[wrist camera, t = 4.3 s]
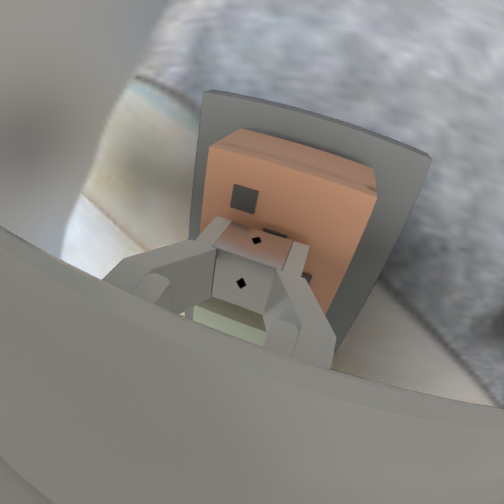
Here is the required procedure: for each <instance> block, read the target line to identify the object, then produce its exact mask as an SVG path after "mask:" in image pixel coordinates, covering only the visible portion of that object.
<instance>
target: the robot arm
mask: <svg viewBox="0 0 504 504" xmlns="http://www.w3.org/2000/svg"><path fill="white" fill-rule="evenodd" d="M309 248H310V246H309V245H306V244H303V243H299V242H296V241H294V242H293V241H292V240H289V239H286V238H282V237H279V236H276V235H273V234H269V233H266V232H263V231H261V230H258V229H256V228H253V227H250V226H247V225H244V224H241V223H238V222H235V221H232V220H230V219H226V218H223V217H220V216H218V217H215V218H214V220H213V221H212V222H211V223H210V224H209V225H208V226H207V228H206V229H205V230H204V231H203V232H202V233H201V235H200V236H199V237H198V238H197V239H196V240H195V241H194V240H187V241H184V242H180V243H176V244H173V245H169V246H166V247H162V248H159V249H155V250H151V251H148V252H144V253H141V254H137V255H134V256H131V257H127V258H124V259H123V260H121V261H120V262H119V263H118V264H117V265H116V266H115V267H114V268H113V269H112V270H111V271H110V272H109V273H108V274H107V275H106V276H105V277H104V278H103V279H102V280H101V279H99V278H96V277H94V276H92V275H90V274H88V273H86V272H84V271H82V270H80V269H78V268H76V267H74V266H72V265H70V264H68V263H67V262H65V261H63V260H61V259H59V258H57V257H55V256H53V255H51V254H49V253H47V252H46V251H44V250H42V249H40V248H38V247H37V246H35V245H33V244H31V243H29V242H28V241H26V240H24V239H22V238H20V237H19V236H17V235H15V234H13V233H12V232H10V231H8V230H7V229H5V228H3V227H2V226H0V504H504V408H497V407H491V406H485V405H479V404H474V403H468V402H463V401H458V400H452V399H448V398H443V397H438V396H433V395H429V394H424V393H420V392H416V391H411V390H407V389H403V388H399V387H395V386H391V385H387V384H383V383H379V382H375V381H371V380H368V379H364V378H360V377H357V376H353V375H350V374H346V373H343V372H339V371H336V370H333V369H331V366H332V360H333V355H334V349H335V343H336V335H335V333H334V332H333V330H332V328H331V326H330V324H329V322H328V320H327V318H326V316H325V314H324V313H323V311H322V309H321V307H320V305H319V303H318V301H317V299H316V297H315V296H314V294H313V292H312V290H311V288H310V286H309V284H308V283H307V281H306V279H305V278H302V277H301V275H302V272H303V269H304V265H305V262H306V259H307V255H308V252H309ZM211 296H212V297H215V298H218V299H221V300H224V301H227V302H230V303H233V304H236V305H238V306H241V307H243V308H246V309H248V310H251V311H254V312H256V313H259V314H262V315H263V320H264V324H265V327H266V331H267V337H266V339H265V342H264V344H263V347H262V346H259V345H257V344H254V343H251V342H248V341H246V340H243V339H240V338H237V337H235V336H232V335H229V334H227V333H224V332H221V331H219V330H216V329H214V328H211V327H209V326H206V325H203V324H201V323H198V322H196V321H193V320H191V319H188V318H186V317H184V316H181V315H179V314H180V313H182V312H184V311H186V310H188V309H190V308H192V307H193V306H195V305H197V304H199V303H201V302H203V301H205V300H207V299H209V298H210V297H211Z"/></svg>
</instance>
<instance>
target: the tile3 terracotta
mask: <svg viewBox="0 0 504 504" xmlns="http://www.w3.org/2000/svg"><path fill="white" fill-rule="evenodd" d="M376 200H377V190H376V181H375V172H374V168H371V167H368V166H366V165H363V164H360V163H357V162H354V161H352V160H349V159H346V158H343V157H340V156H337V155H334V154H331V153H328V152H324V151H321V150H318V149H315V148H312V147H308V146H305V145H302V144H298V143H295V142H291V141H288V140H284V139H281V138H277V137H273V136H270V135H266V134H262V133H258V132H254V131H250V130H246V129H242V128H240V129H238V130H237V131H235V132H233V133H231V134H230V135H228V136H226V137H224V138H223V139H221V140H219V141H217V142H216V143H214V144H212V145H211V146H209V153H208V160H207V169H206V177H205V186H204V195H203V204H202V213H201V223H200V234H199V236H200V235H201V233H202V232H203V231H204V230H205V229H206V228H207V226H208V225H209V224H210V223H211V222H212V221H213V220H214V218H215V217H218V216H220V217H223V218H226V219H230V220H232V221H235V222H238V223H241V224H244V225H247V226H250V227H253V228H256V229H258V230H261V231H263V232H266V233H269V234H273V235H276V236H279V237H282V238H286V239H289V240H292V241H293V242H294V241H296V242H299V243H303V244H306V245H309V246H310V248H309V252H308V255H307V259H306V262H305V265H304V269H303V272H302V275H301V277H302V278H305V279H306V281H307V283H308V284H309V286H310V288H311V290H312V292H313V294H314V296H315V297H316V299H317V301H318V303H319V305H320V307H321V309H322V311H323V313H324V314H326V312H327V310H328V308H329V306H330V304H331V302H332V300H333V298H334V296H335V294H336V292H337V290H338V288H339V285H340V283H341V281H342V279H343V277H344V275H345V273H346V270H347V268H348V266H349V264H350V262H351V259H352V257H353V255H354V253H355V250H356V248H357V246H358V243H359V241H360V239H361V236H362V234H363V232H364V229H365V227H366V225H367V222H368V220H369V217H370V215H371V212H372V210H373V207H374V205H375V202H376Z"/></svg>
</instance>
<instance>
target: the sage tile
mask: <svg viewBox="0 0 504 504" xmlns="http://www.w3.org/2000/svg"><path fill="white" fill-rule="evenodd" d="M193 321H196V322H198V323H201V324H203V325H206V326H209V327H211V328H214V329H216V330H219V331H221V332H224V333H227V334H229V335H232V336H235V337H237V338H240V339H243V340H246V341H248V342H251V343H254V344H257V345H259V346H262V347H263V344H264V342H265V339H266V337H267V331H266V327H265V324H264V320H263V315H262V314H259V313H256V312H254V311H251V310H248V309H246V308H243V307H241V306H238V305H236V304H233V303H230V302H227V301H224V300H221V299H218V298H215V297H212V296H211V297H210V298H209V299H207V300H205V301H203V302H201V303H199V304H197V305H195V306H194V310H193Z"/></svg>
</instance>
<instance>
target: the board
mask: <svg viewBox="0 0 504 504" xmlns="http://www.w3.org/2000/svg"><path fill="white" fill-rule="evenodd" d="M240 128H242V129H246V130H250V131H254V132H258V133H262V134H266V135H270V136H273V137H277V138H281V139H284V140H288V141H291V142H295V143H298V144H302V145H305V146H308V147H312V148H315V149H318V150H321V151H324V152H328V153H331V154H334V155H337V156H340V157H343V158H346V159H349V160H352V161H354V162H357V163H360V164H363V165H366V166H368V167H371V168H374V172H375V181H376V190H377V200H376V202H375V205H374V207H373V210H372V212H371V215H370V217H369V220H368V222H367V225H366V227H365V229H364V232H363V234H362V236H361V239H360V241H359V243H358V246H357V248H356V250H355V253H354V255H353V257H352V259H351V262H350V264H349V266H348V268H347V270H346V273H345V275H344V277H343V279H342V281H341V283H340V285H339V288H338V290H337V292H336V294H335V296H334V298H333V300H332V302H331V304H330V306H329V308H328V310H327V312H326V314H325V316H326V318H327V320H328V322H329V324H330V326H331V328H332V330H333V332H334V333H335V335H336V343H335V349H334V352H335V351H336V349H337V348H338V346H339V344H340V343H341V341H342V340H343V338H344V336H345V335H346V333H347V331H348V330H349V328H350V327H351V325H352V323H353V321H354V320H355V318H356V316H357V315H358V313H359V311H360V309H361V308H362V306H363V304H364V302H365V301H366V299H367V297H368V295H369V294H370V292H371V290H372V288H373V286H374V284H375V283H376V281H377V279H378V277H379V275H380V273H381V271H382V269H383V268H384V266H385V264H386V262H387V260H388V258H389V256H390V254H391V252H392V250H393V248H394V246H395V244H396V242H397V240H398V238H399V236H400V233H401V231H402V229H403V227H404V225H405V223H406V221H407V219H408V216H409V214H410V212H411V210H412V207H413V205H414V203H415V201H416V198H417V196H418V194H419V191H420V189H421V187H422V184H423V182H424V179H425V177H426V174H427V172H428V170H429V167H430V164H431V162H432V159H431V158H430V156H429V155H428V154H427V153H425V152H423V151H420V150H418V149H416V148H413V147H411V146H408V145H406V144H404V143H401V142H399V141H396V140H393V139H391V138H388V137H386V136H383V135H380V134H378V133H375V132H372V131H369V130H367V129H364V128H361V127H358V126H355V125H352V124H349V123H346V122H343V121H340V120H337V119H333V118H330V117H327V116H324V115H320V114H317V113H313V112H310V111H306V110H303V109H299V108H295V107H291V106H287V105H283V104H279V103H275V102H271V101H267V100H263V99H258V98H253V97H249V96H244V95H239V94H234V93H229V92H223V91H218V90H210V91H206V92H204V95H203V103H202V110H201V118H200V126H199V134H198V142H197V151H196V161H195V170H194V180H193V191H192V202H191V215H190V228H189V240H194V241H195V240H196V239H197V238H198V237H199V234H200V223H201V213H202V204H203V195H204V186H205V177H206V169H207V160H208V153H209V146H211V145H212V144H214V143H216V142H217V141H219V140H221V139H223V138H224V137H226V136H228V135H230V134H231V133H233V132H235V131H237V130H238V129H240ZM193 310H194V306H193V307H192V308H190V309H188V310H186V311H185V317H186V318H188V319H191V320H193Z"/></svg>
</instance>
